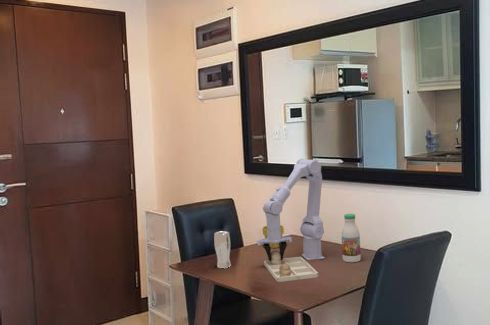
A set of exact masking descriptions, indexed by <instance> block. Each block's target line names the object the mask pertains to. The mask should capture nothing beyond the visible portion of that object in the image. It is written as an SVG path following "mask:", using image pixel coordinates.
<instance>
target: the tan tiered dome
mask: <svg viewBox="0 0 490 325" xmlns="http://www.w3.org/2000/svg"><path fill="white" fill-rule="evenodd" d="M279 272H280V277H286V276H291V269H290V266H289V265H288V264H286V263H284V264H282V265H281V266H280V268H279Z"/></svg>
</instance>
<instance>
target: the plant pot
mask: <svg viewBox="0 0 490 325" xmlns="http://www.w3.org/2000/svg"><path fill="white" fill-rule="evenodd" d="M280 228H281V237H283V235H284V233H285V232H284V231H285V230H284V229H285V228H284V225H282V224H280ZM262 235H263V236H264V239H266V238H268V237H267V225H265V226H262ZM269 245H270V247H271V249H277V248H279V243H274V244H269Z"/></svg>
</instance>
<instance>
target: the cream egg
mask: <svg viewBox="0 0 490 325" xmlns="http://www.w3.org/2000/svg"><path fill="white" fill-rule="evenodd" d="M280 264H281V254H280V250H279V251H278V250H271V265H280Z"/></svg>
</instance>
